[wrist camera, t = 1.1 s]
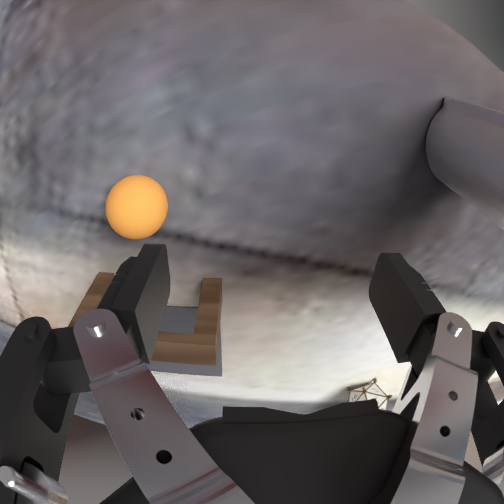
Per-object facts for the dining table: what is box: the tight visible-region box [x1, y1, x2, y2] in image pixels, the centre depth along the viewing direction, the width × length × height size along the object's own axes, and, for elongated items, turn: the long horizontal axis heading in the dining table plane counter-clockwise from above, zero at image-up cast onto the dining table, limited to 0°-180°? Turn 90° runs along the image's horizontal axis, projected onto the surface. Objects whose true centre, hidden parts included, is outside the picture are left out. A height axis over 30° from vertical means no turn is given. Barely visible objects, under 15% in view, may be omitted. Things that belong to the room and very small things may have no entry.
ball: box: [105, 175, 168, 239], centre depth 24 cm, size 6×6×6 cm
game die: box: [347, 378, 392, 410], centre depth 42 cm, size 9×8×10 cm
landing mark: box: [146, 306, 222, 376], centre depth 38 cm, size 14×14×1 cm
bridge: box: [68, 272, 222, 366], centre depth 29 cm, size 3×15×9 cm, turn 87°
